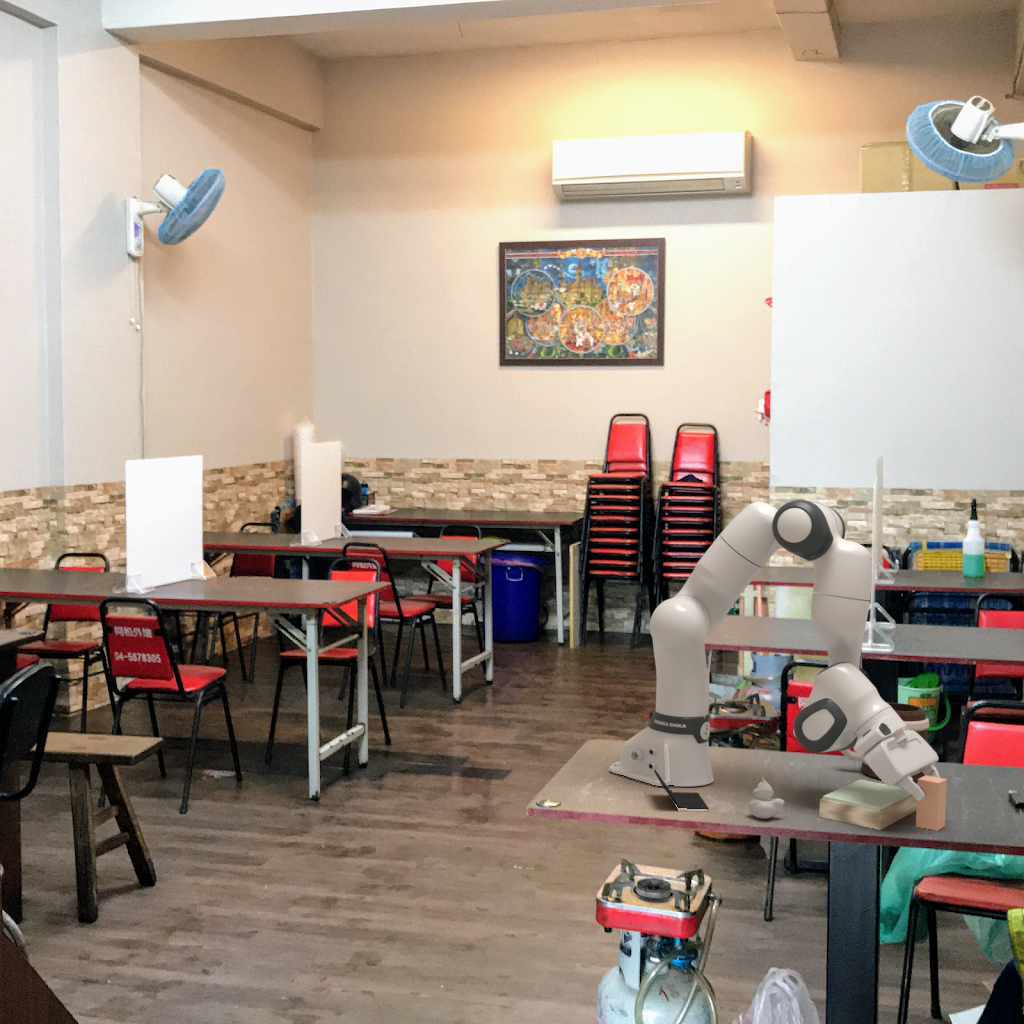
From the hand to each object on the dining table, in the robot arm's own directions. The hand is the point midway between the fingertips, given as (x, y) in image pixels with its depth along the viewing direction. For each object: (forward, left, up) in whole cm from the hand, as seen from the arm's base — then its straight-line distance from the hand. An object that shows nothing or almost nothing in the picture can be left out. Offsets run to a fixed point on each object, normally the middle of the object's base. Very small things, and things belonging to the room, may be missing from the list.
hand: (932, 793), depth 223 cm
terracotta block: (0, 0, -6) cm, 6 cm away
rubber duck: (-25, -17, -7) cm, 31 cm away
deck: (-12, 0, -6) cm, 14 cm away
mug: (-22, +32, -7) cm, 39 cm away
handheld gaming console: (-42, -20, -7) cm, 47 cm away
